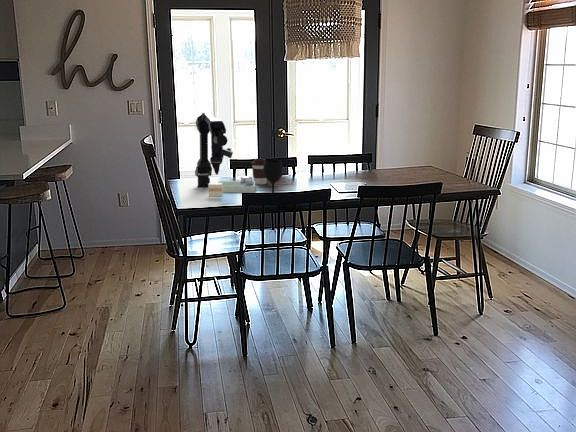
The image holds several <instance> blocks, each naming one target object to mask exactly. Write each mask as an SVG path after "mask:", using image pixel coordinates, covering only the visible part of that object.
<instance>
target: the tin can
mask: <svg viewBox="0 0 576 432" xmlns="http://www.w3.org/2000/svg"><path fill="white" fill-rule="evenodd" d="M240 181H241V186H253V181H254V179H253V176H249V175H245V176H243V175H242V176H240Z"/></svg>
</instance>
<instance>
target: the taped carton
mask: <svg viewBox="0 0 576 432" xmlns="http://www.w3.org/2000/svg"><path fill="white" fill-rule="evenodd" d="M207 189H208V190H207V191H208V192H207V193H208V197H222V196H223V192H222V183H218V182H210V183H209V184H208V187H207Z"/></svg>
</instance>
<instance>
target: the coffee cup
mask: <svg viewBox="0 0 576 432" xmlns="http://www.w3.org/2000/svg"><path fill="white" fill-rule="evenodd" d="M265 161H266V159H265V158H254V159H253V161H250V162H251V166H252V168H251V169H252V179H253V181H255V185H266V184H267V179H266V178H265V176H264V173H263V166H264V162H265Z"/></svg>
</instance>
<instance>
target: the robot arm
mask: <svg viewBox="0 0 576 432" xmlns="http://www.w3.org/2000/svg"><path fill="white" fill-rule="evenodd" d="M195 126H196V129H197V131H198V133H199V158H198V160H197V161H196V167H195V170H194V176H195V177H197V188H208V184H209V183H211V177H210V176H212V174H213V171H214V173H215V175H216V176H217V175H219V171H220V169H221V168H220V167H221V164H222V163H223V160H224V157H227V158H229V159H232V156H233V153H234V152H233V150H232V148H230V147H228V148H224V146H226V145H227V143H228V138H227V136H226V133H227V129H226V126H225V124H224V121H223V120H222V119H217V118H216V117H215V116H214V115H213V113H212V112H207V111H206V112H202V113H201V115H199V116H198V117H196V120H195ZM209 133H210V141H211V142H210V143H211V144H210V145H211V146H210V150H211V155H210V156H211V157H210V158H209Z"/></svg>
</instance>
